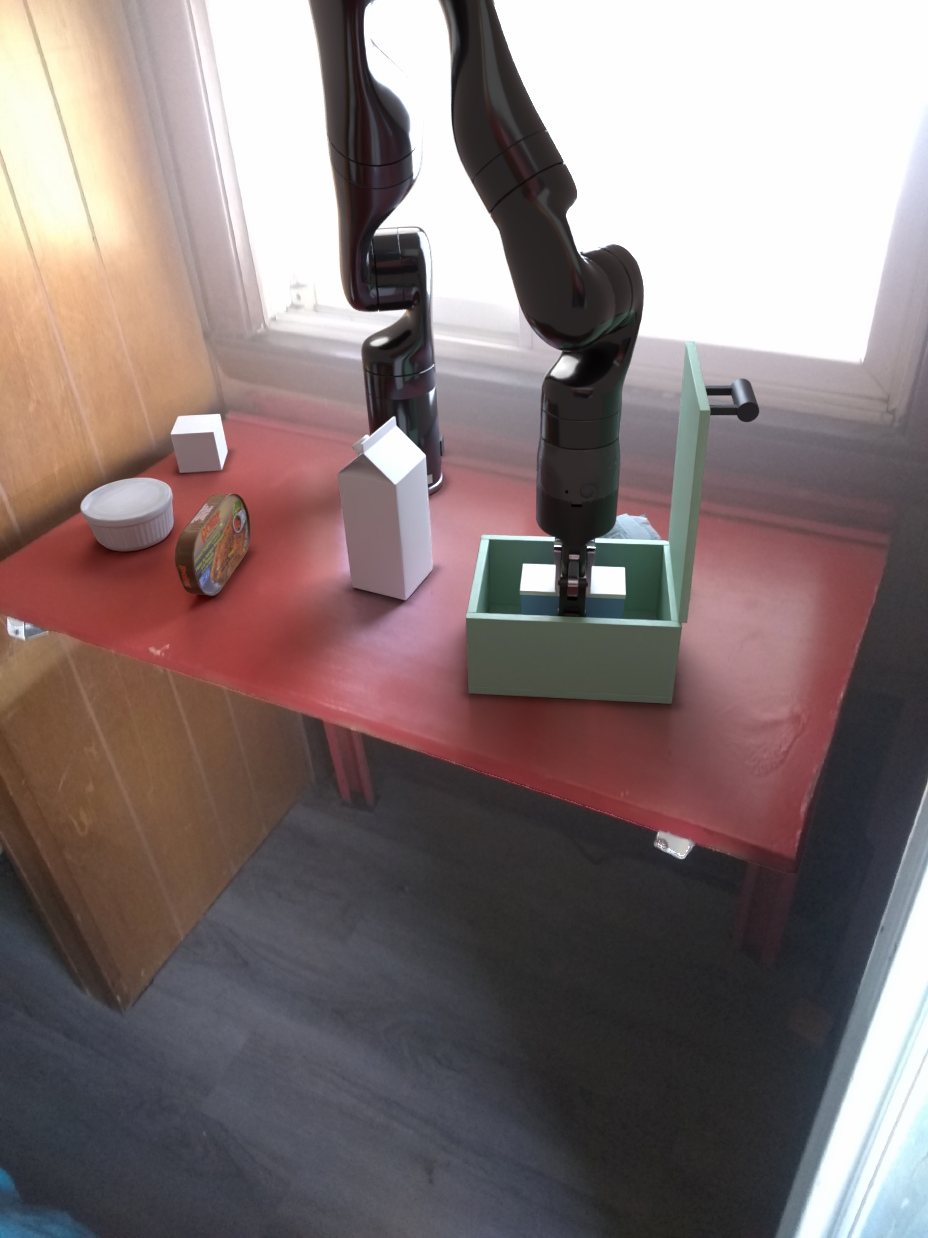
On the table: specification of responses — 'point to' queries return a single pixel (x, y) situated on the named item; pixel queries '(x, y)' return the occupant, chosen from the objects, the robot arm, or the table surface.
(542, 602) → the snack box
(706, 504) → the table surface
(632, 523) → the packaged food
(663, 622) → the box
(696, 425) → the lid
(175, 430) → the white cube
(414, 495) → the milk carton
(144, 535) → the ramekin
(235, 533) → the tin
